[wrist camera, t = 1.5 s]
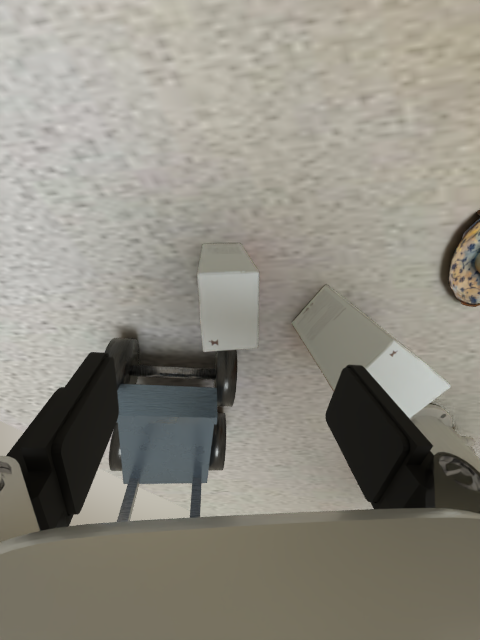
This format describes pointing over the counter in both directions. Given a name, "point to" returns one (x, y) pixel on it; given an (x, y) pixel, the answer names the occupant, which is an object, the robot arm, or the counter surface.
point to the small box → (365, 351)
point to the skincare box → (228, 298)
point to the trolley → (168, 423)
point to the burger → (467, 267)
